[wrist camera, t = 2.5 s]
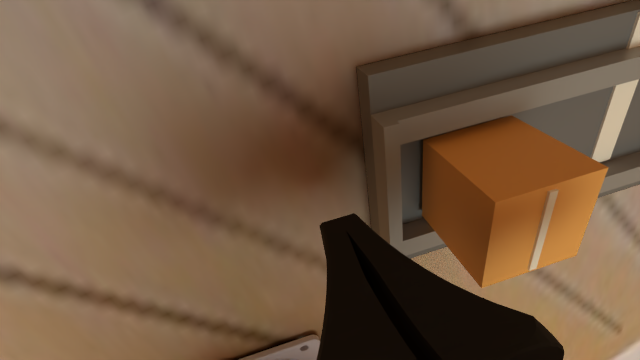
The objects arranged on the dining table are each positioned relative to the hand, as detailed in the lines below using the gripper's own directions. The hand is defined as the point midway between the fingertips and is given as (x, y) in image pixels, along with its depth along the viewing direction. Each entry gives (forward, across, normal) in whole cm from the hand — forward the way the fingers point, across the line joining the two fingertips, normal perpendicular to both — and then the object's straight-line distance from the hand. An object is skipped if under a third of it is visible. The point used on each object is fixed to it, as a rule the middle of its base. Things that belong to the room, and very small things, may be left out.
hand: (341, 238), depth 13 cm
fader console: (+3, -10, 0) cm, 11 cm away
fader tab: (+2, -6, 0) cm, 7 cm away
